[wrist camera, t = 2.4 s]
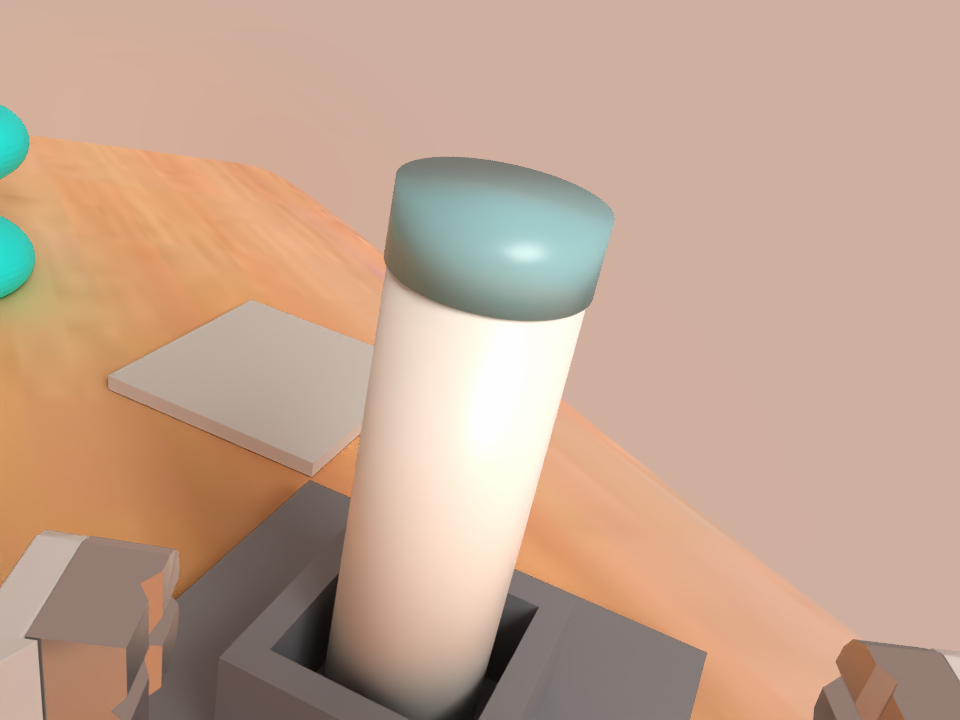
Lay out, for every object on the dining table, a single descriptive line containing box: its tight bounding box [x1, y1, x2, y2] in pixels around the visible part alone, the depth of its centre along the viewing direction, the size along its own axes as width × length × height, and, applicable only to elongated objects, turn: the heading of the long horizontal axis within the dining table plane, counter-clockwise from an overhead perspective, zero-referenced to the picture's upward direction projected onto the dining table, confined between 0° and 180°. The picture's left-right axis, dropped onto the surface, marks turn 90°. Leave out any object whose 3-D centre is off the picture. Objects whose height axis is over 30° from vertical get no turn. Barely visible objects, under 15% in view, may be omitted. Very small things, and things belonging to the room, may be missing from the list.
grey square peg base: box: [148, 480, 707, 720], centre depth 29 cm, size 18×18×6 cm
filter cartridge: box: [323, 157, 615, 720], centre depth 25 cm, size 5×5×18 cm
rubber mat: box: [108, 300, 374, 477], centre depth 48 cm, size 12×12×1 cm
